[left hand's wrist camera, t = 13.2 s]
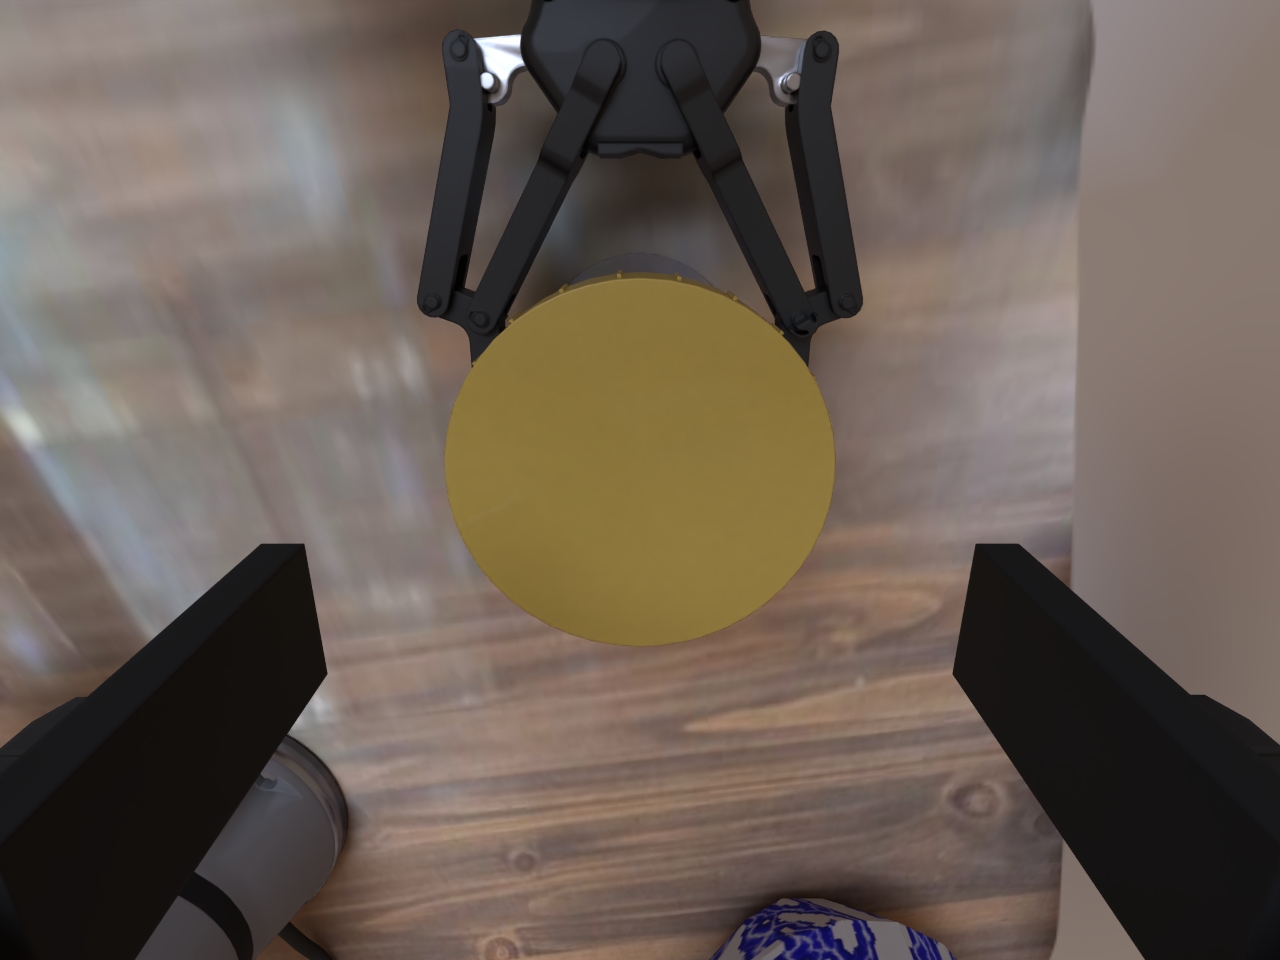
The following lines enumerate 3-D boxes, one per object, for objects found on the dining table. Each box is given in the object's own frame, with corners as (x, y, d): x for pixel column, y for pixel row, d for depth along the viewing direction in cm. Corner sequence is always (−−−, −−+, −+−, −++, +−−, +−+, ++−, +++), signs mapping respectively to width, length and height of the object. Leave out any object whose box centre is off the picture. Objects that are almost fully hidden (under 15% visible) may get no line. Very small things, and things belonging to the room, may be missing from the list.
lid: (551, 657, 24) (544, 694, 22) (392, 357, 20) (369, 370, 18) (863, 548, 22) (883, 577, 21) (751, 205, 19) (763, 204, 17)
